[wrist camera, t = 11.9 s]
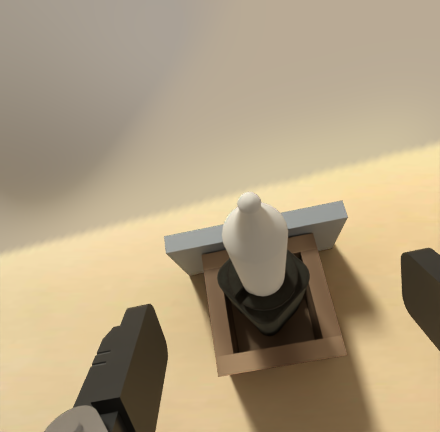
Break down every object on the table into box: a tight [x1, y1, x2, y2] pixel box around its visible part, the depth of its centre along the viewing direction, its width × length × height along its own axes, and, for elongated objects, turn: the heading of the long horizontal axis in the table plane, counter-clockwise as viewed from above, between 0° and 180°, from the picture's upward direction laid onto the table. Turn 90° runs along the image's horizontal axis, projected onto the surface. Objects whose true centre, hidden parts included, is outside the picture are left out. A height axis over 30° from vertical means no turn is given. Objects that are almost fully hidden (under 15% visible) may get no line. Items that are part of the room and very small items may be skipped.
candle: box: [217, 192, 310, 336], centre depth 23 cm, size 5×5×25 cm
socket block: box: [201, 233, 347, 377], centre depth 33 cm, size 10×10×7 cm
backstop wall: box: [164, 201, 348, 276], centre depth 34 cm, size 16×2×9 cm, turn 99°
